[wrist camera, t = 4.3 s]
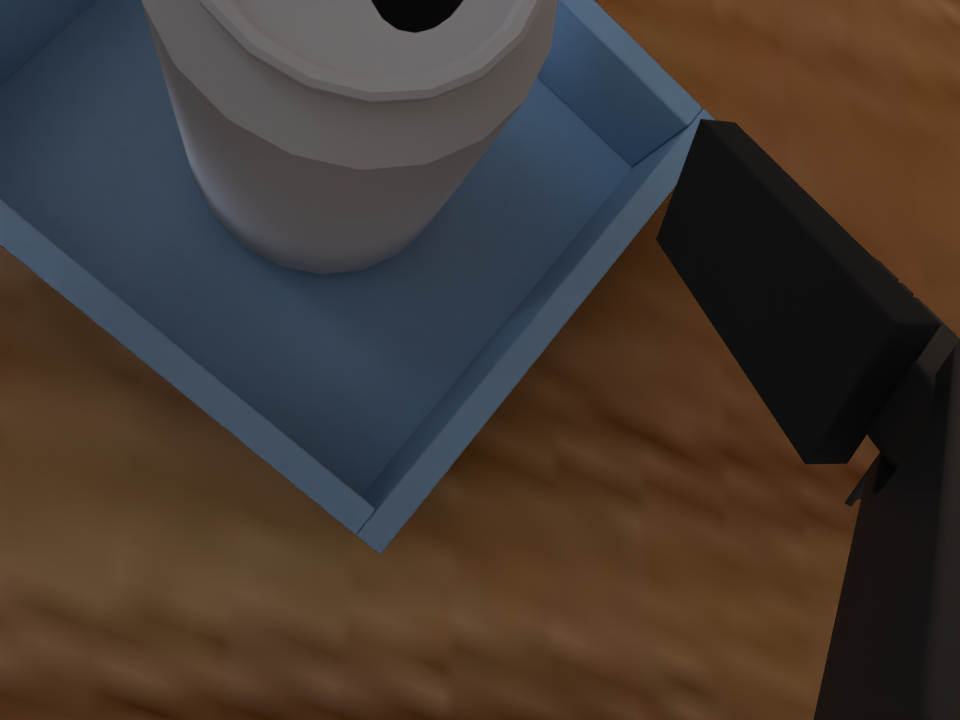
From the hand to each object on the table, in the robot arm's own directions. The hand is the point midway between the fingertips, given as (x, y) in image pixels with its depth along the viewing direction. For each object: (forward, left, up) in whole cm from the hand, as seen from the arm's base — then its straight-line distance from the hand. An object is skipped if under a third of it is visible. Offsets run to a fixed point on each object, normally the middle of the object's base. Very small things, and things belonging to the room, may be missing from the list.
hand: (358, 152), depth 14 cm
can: (-2, +2, -10) cm, 10 cm away
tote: (-2, +2, -10) cm, 10 cm away
